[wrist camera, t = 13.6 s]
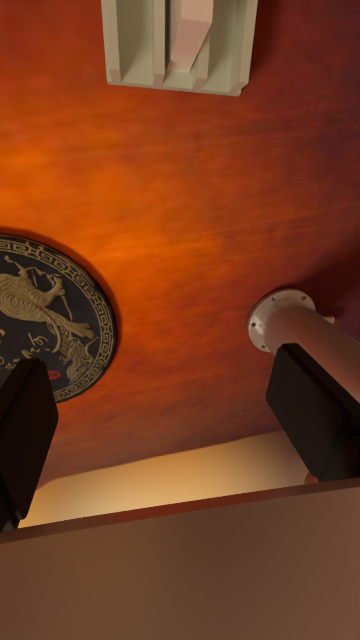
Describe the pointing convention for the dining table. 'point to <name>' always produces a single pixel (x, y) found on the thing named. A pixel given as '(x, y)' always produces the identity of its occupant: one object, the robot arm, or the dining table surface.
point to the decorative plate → (53, 316)
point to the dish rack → (151, 47)
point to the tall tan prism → (186, 31)
